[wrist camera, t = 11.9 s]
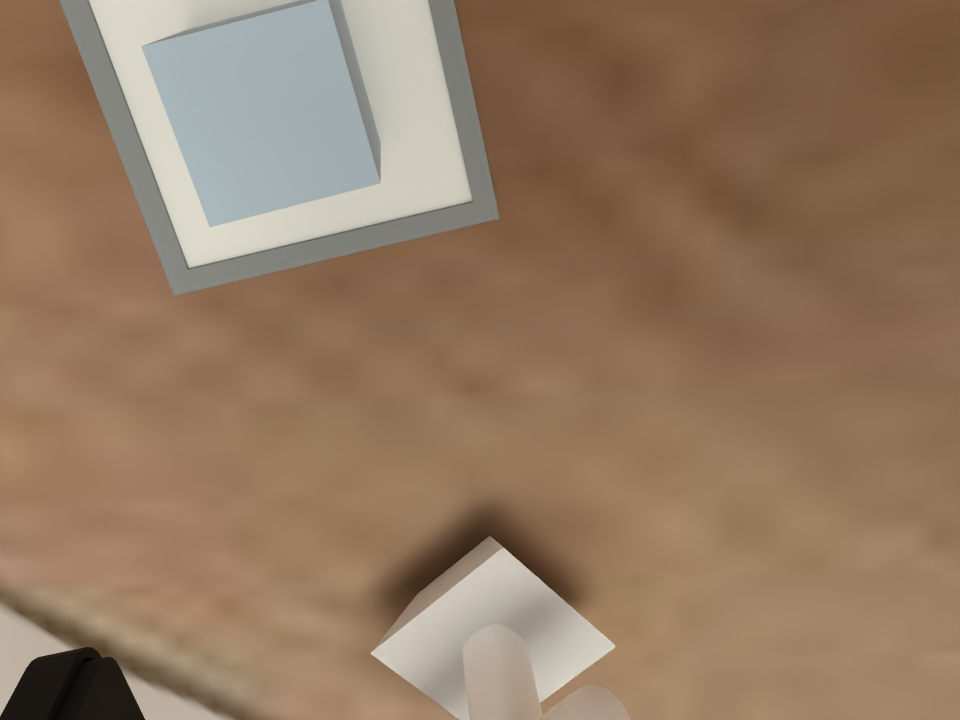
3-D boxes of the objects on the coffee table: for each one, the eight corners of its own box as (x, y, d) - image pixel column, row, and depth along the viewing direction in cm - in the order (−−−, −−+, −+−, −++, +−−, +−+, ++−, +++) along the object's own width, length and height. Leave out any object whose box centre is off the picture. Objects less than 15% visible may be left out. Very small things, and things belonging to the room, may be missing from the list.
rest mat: (419, -155, 28) (420, -159, 27) (496, 211, 33) (499, 218, 32) (44, -67, 28) (33, -67, 27) (179, 286, 33) (173, 296, 32)
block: (337, -10, 29) (327, -3, 23) (380, 143, 31) (380, 183, 25) (187, 29, 29) (141, 46, 23) (240, 179, 31) (209, 227, 25)
